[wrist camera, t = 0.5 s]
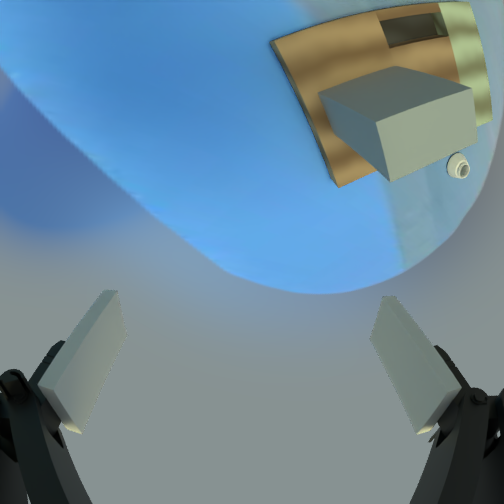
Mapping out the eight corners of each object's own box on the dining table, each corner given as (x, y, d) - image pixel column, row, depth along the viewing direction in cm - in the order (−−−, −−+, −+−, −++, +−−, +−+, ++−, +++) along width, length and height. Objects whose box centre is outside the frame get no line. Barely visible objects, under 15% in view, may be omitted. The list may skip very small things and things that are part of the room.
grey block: (317, 92, 30) (375, 122, 19) (395, 65, 27) (472, 88, 17) (333, 133, 33) (390, 182, 23) (406, 105, 31) (477, 142, 20)
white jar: (442, 172, 42) (457, 177, 43) (452, 180, 40) (466, 185, 41) (451, 148, 39) (466, 155, 40) (462, 155, 37) (476, 162, 38)
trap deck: (269, 41, 27) (274, 41, 25) (456, 1, 21) (469, 2, 18) (331, 178, 41) (338, 188, 39) (481, 114, 34) (492, 120, 32)
